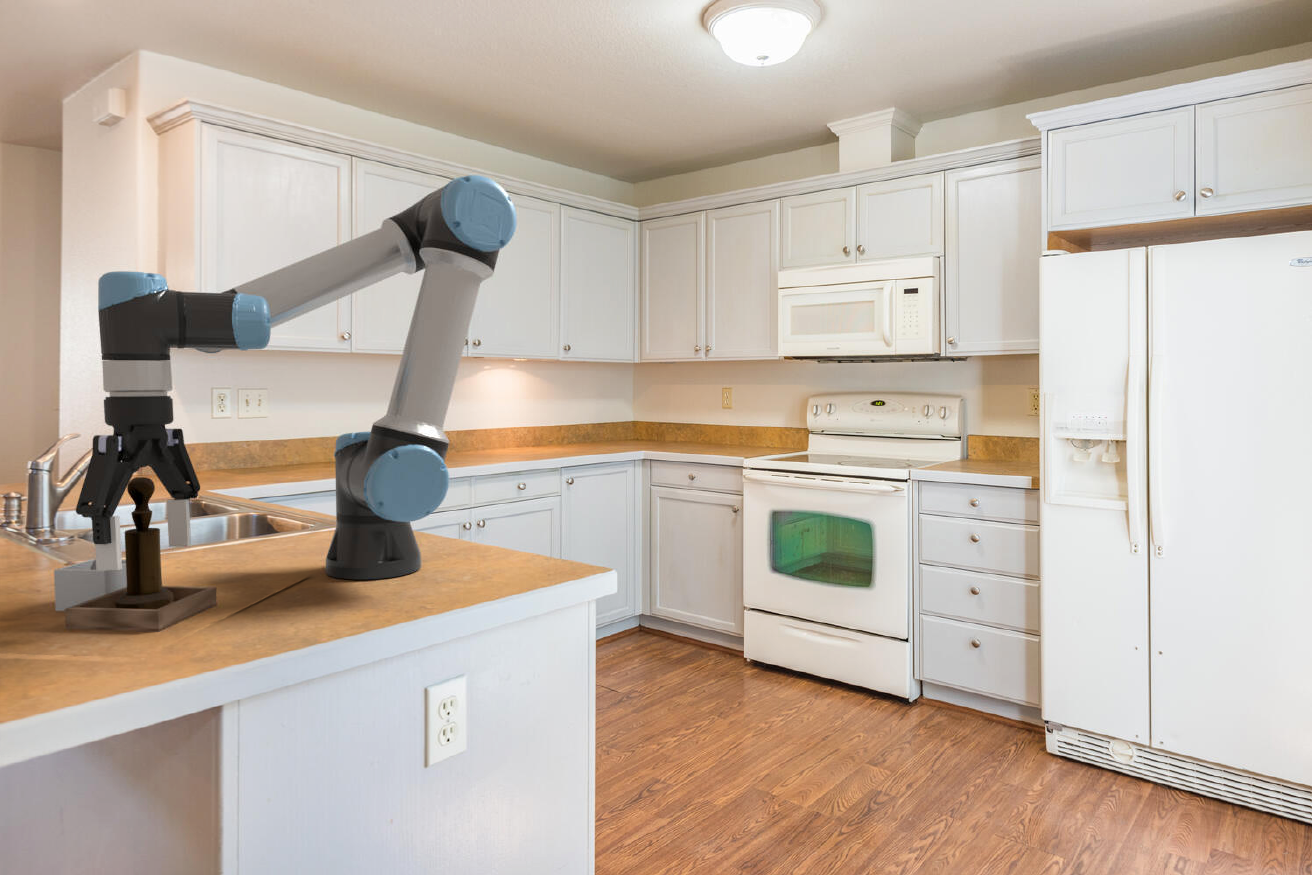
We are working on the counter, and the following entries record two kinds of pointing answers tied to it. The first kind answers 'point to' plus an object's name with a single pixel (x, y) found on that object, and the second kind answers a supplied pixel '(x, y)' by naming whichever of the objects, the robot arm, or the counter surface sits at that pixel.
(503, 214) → the robot arm
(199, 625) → the counter surface
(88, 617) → the walnut tray
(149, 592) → the brown wooden tall piece
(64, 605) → the grey tub
